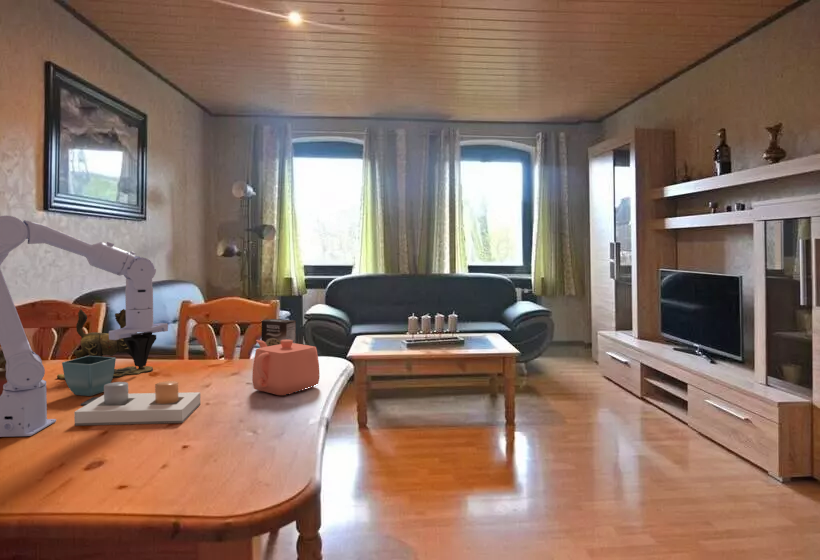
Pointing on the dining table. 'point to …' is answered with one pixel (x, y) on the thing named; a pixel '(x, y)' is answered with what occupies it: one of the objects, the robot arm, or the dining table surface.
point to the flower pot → (88, 374)
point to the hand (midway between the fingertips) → (140, 365)
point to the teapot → (285, 367)
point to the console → (138, 410)
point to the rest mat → (89, 401)
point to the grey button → (115, 393)
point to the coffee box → (278, 331)
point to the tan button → (166, 392)
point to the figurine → (105, 345)
